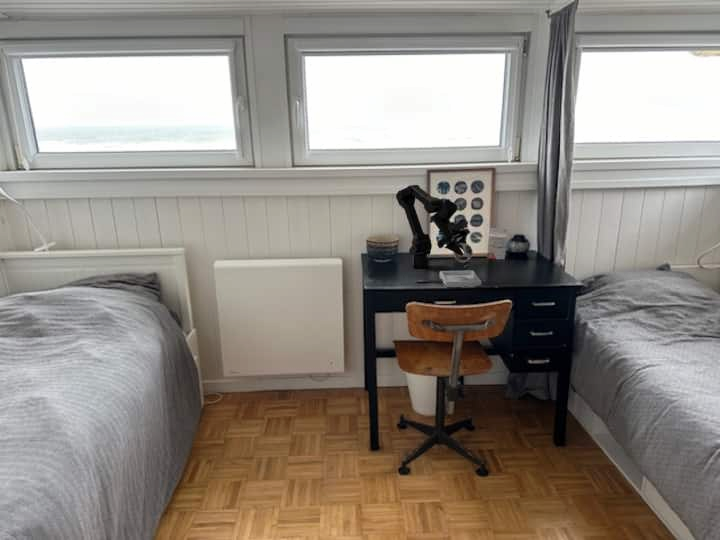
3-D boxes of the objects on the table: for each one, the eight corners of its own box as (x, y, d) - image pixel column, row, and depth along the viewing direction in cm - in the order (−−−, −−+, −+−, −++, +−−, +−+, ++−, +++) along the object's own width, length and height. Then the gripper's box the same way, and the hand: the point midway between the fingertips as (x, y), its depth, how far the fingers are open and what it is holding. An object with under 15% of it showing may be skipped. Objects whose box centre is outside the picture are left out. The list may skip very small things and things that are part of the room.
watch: (467, 272, 204) (468, 246, 201) (450, 268, 209) (451, 243, 206) (473, 268, 208) (475, 243, 205) (457, 265, 213) (458, 240, 210)
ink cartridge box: (486, 258, 243) (488, 229, 238) (487, 256, 247) (489, 227, 243) (504, 260, 240) (506, 230, 236) (505, 257, 244) (507, 228, 240)
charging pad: (418, 288, 202) (418, 282, 202) (413, 277, 216) (413, 271, 215) (481, 287, 203) (481, 281, 202) (472, 276, 217) (472, 270, 216)
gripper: (444, 217, 197) (467, 247, 194) (467, 210, 211) (489, 238, 207) (427, 233, 205) (449, 263, 201) (450, 225, 218) (471, 253, 215)
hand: (465, 254), depth 206 cm, fingers closed on watch, 5 cm apart
